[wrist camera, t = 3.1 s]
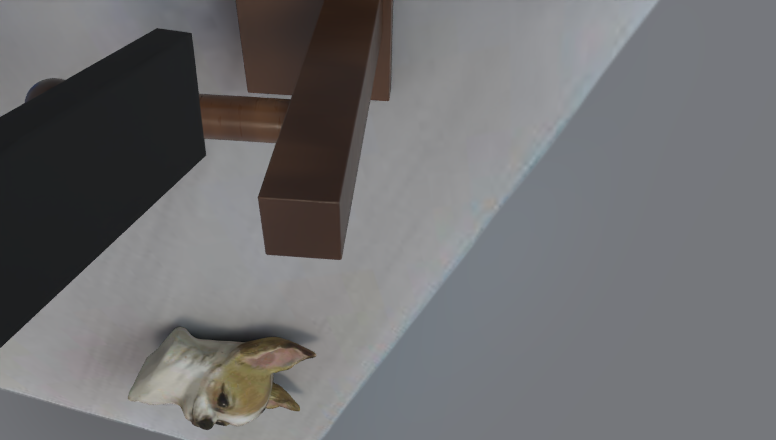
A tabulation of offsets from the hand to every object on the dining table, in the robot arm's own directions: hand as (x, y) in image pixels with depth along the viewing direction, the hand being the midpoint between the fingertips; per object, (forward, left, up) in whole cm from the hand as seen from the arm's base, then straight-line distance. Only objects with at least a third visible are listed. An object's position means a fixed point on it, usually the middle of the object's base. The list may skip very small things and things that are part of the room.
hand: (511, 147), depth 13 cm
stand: (-8, -14, -28) cm, 32 cm away
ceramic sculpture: (-1, -49, -28) cm, 56 cm away
